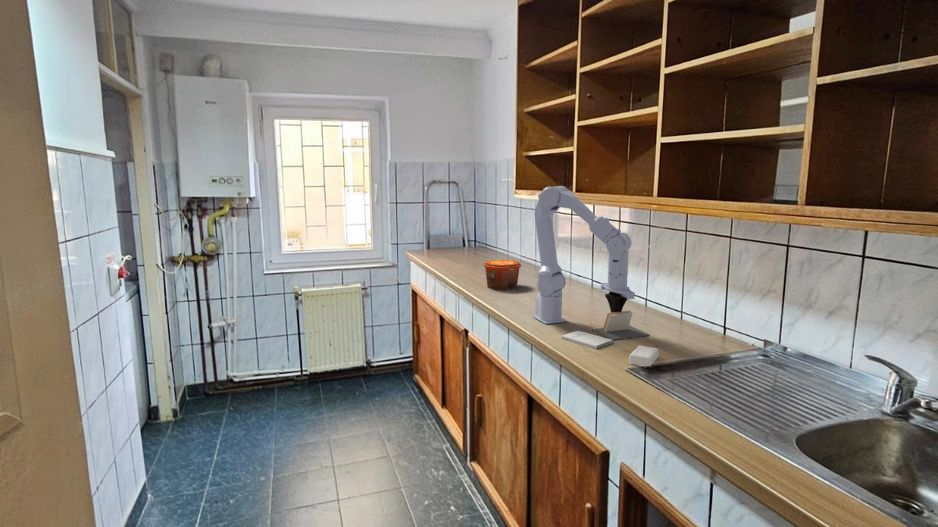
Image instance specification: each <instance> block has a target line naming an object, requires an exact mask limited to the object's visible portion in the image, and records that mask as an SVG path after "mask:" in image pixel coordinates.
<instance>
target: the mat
mask: <svg viewBox="0 0 938 527" xmlns="http://www.w3.org/2000/svg"><path fill="white" fill-rule="evenodd" d="M593 331H594V332H593ZM591 332H593V333H595V332H596V333H595V334H597V333H598V334H597V335H599V334H600V335H599V336H601V335H602V336H601V337H603V336H604V337H603V338H605V337H606V338H608V339H611V340H613V341H619V340H618V339H621V340H625V338H629V339H633V338H632V337H636V338H641V337H640V336H644V337H649V336H648V335H650V336H651V334H649V333H648V332H645V331H643V330H641V329H638V328H636V327H634V326H632V325H630V324H629V326H628V329H625V330H617V331H609V332H605V331H604V330H603V327H600V328H593V329H592V328H591Z"/></svg>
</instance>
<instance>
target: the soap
mask: <svg viewBox="0 0 938 527" xmlns="http://www.w3.org/2000/svg"><path fill="white" fill-rule="evenodd" d="M659 352H660V351H659V349H658V348H656V347H650V346H645V345H637V347H636V348H635V349H634V350H632V352H631V353H630V354H629V358H628V359H629V360H628V362H629V363H630V364H629V363H628V364H629V365H631V364H637V365H646V366H651V365H652V364H653V363H654V364H655V362H656V361H657V360H658V359H657V358H659V355H660V354H659ZM656 359H657V360H656ZM655 360H656V361H655ZM654 361H655V362H654ZM654 364H653V365H654ZM653 365H652V366H653ZM652 366H651V367H652Z"/></svg>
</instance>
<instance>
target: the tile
mask: <svg viewBox="0 0 938 527" xmlns="http://www.w3.org/2000/svg"><path fill="white" fill-rule="evenodd" d="M632 317H633V312H632V311H631V310H625V311H623V310H622V312H613V313H611V312H608V313H607V314H606V318H605V321H604V324H603V327H602V328H603V330H604V331H605V332H609V331H617V330H625V329H628V326H629V325H630V323H631V319H632Z"/></svg>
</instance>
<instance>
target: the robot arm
mask: <svg viewBox="0 0 938 527" xmlns="http://www.w3.org/2000/svg"><path fill="white" fill-rule="evenodd" d="M537 198H538V199H537V203H536V206H535V209H534V220H535V228H536V235H537V236H536V237H537V244H538V252H539V259H540V268H539V271H538V273H537V277H538V278H537V279H538V280H537V282H536V288H537V291H538V294H537V295H536V297H535V308H534V309H535V312H534V314H533V315H532V318H534V319H536V320H537V321H539V322H541V323H543V324H545V325H550V324H557V323H558V324H559V323H566V322H567V321H568V320H567V319H565V318H564V317H562V316H563V315H562V314H563V313H562V312H563V289H564V288H565V287H566V283H567V281H566V277H565V276H564V274H563V271H562V268H561V266H560V265H559V264H558V257H557V249H556V241H555V233H554V226H553V215H555V213H556V212H557V211H558V210H559V209H560V208H561V209H562V208H563V209H569V210H571V211H572V212H573V213H575V214H576V216H578V217H579V218H580V219H582V220H583V221H585V223H587V225H588V227H589V231H590V232H591V233H592V234H593V235H594V236H595V237H596V238H598V239H599V240H600V241H601V242H602V243H603V244H604V245H605V246H606V251H607V252H608V263H607V264H608V266H607V282H600V290H603V291H606V292H608V293H605V294H604V296H605V298H606V300H607V303H608V305H609V310H610V313H613V312H622V311H623V308H624V306H625V304H626V302H627V301H628V300H635V296H636V295H635V293H636V292H634V291H632V290H631V288H630V286H628V273H629V250H630V248H631V247H632V240H631V237H630V236H629V234H628V233H625V232H622V230H621V229H620V228H616V227H615V226H614V225H613V224H612V223H611V222H610V218H608V217H604V216H597V215H596V214H595V213H594V212H593V211H592V210H591V209H590V208H589V207H588V206H587V205H586V204H585V203H583V202H582V200H580V198H579V197H577V196H576V194H575V193H574V191H571V190H569V188H567V187H566V186H564V185H558V186H547V187H544V188H543V190H541V192H539V193H538V196H537Z"/></svg>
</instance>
